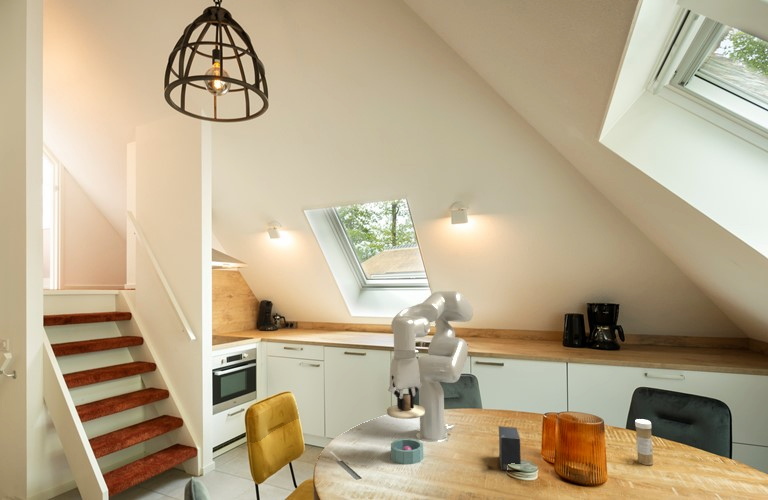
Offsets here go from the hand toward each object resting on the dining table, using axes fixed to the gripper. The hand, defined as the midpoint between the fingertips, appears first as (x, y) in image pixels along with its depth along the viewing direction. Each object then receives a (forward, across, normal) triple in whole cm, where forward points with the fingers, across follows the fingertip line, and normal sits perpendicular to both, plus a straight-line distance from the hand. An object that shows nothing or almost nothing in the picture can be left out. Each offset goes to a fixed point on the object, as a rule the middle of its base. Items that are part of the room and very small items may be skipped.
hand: (405, 407), depth 144 cm
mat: (+18, +14, -3) cm, 23 cm away
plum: (+16, 0, 0) cm, 16 cm away
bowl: (+17, 0, 0) cm, 17 cm away
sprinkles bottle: (+18, -65, +44) cm, 81 cm away
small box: (+18, -27, +21) cm, 39 cm away
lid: (+2, 0, 0) cm, 2 cm away
